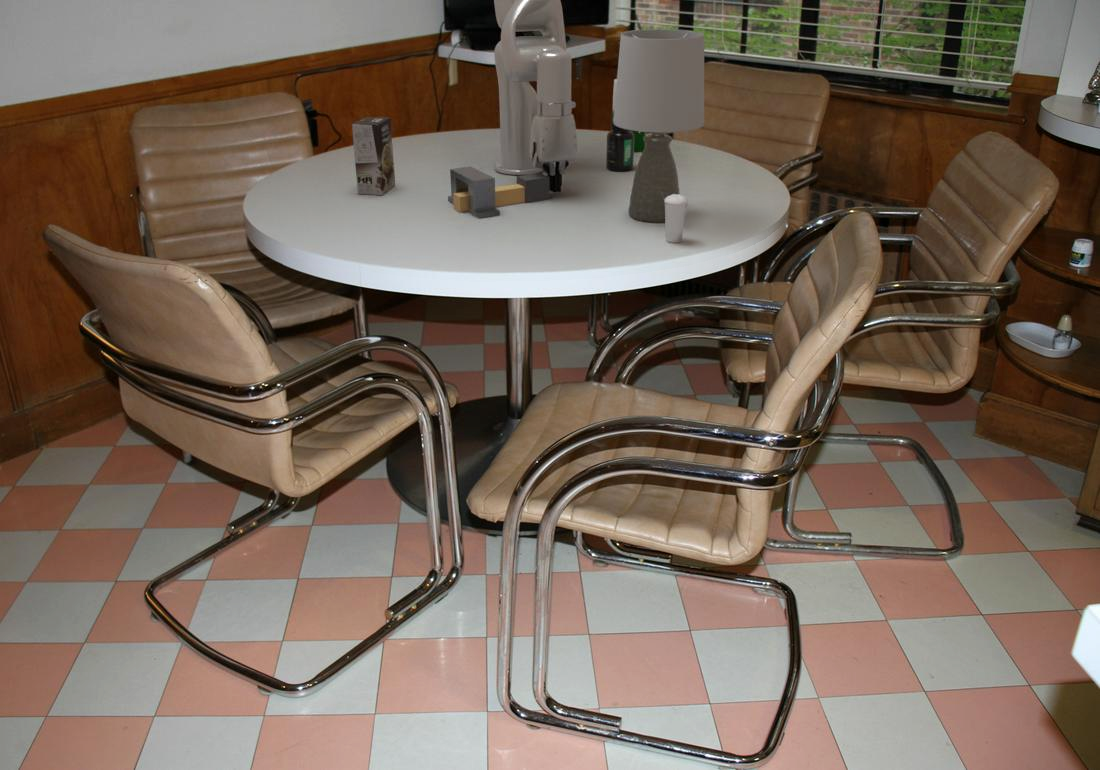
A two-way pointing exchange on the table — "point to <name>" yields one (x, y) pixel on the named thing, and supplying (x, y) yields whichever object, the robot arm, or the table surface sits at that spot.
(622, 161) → the supplement bottle
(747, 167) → the table surface
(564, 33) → the robot arm
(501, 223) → the table surface
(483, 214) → the housing
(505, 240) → the table surface
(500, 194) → the plug
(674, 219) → the milkshake
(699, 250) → the table surface
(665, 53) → the lamp
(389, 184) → the coffee box
